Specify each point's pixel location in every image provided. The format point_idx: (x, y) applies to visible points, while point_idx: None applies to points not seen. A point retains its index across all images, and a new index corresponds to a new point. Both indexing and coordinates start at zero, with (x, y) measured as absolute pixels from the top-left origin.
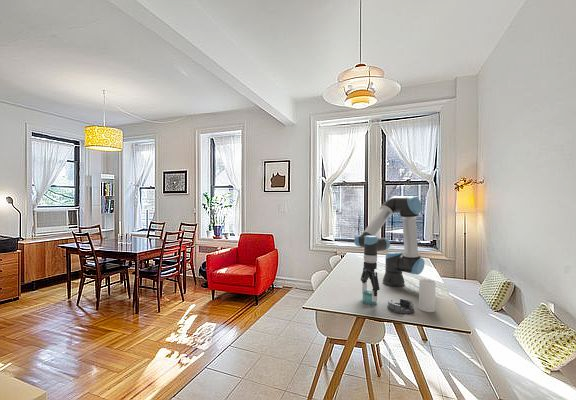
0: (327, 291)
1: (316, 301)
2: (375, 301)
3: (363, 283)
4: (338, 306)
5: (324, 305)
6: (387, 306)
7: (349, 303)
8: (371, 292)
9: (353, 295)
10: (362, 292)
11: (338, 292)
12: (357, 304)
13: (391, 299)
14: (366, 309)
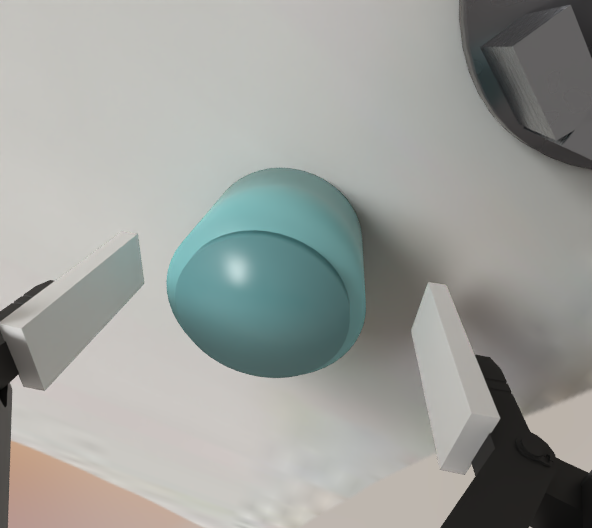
0: None
1: (203, 511)
2: (356, 230)
3: (44, 378)
4: (308, 471)
5: (272, 510)
6: (517, 137)
7: (270, 399)
8: (264, 291)
9: None
10: (132, 291)
11: None
12: None
13: (563, 34)
14: None
